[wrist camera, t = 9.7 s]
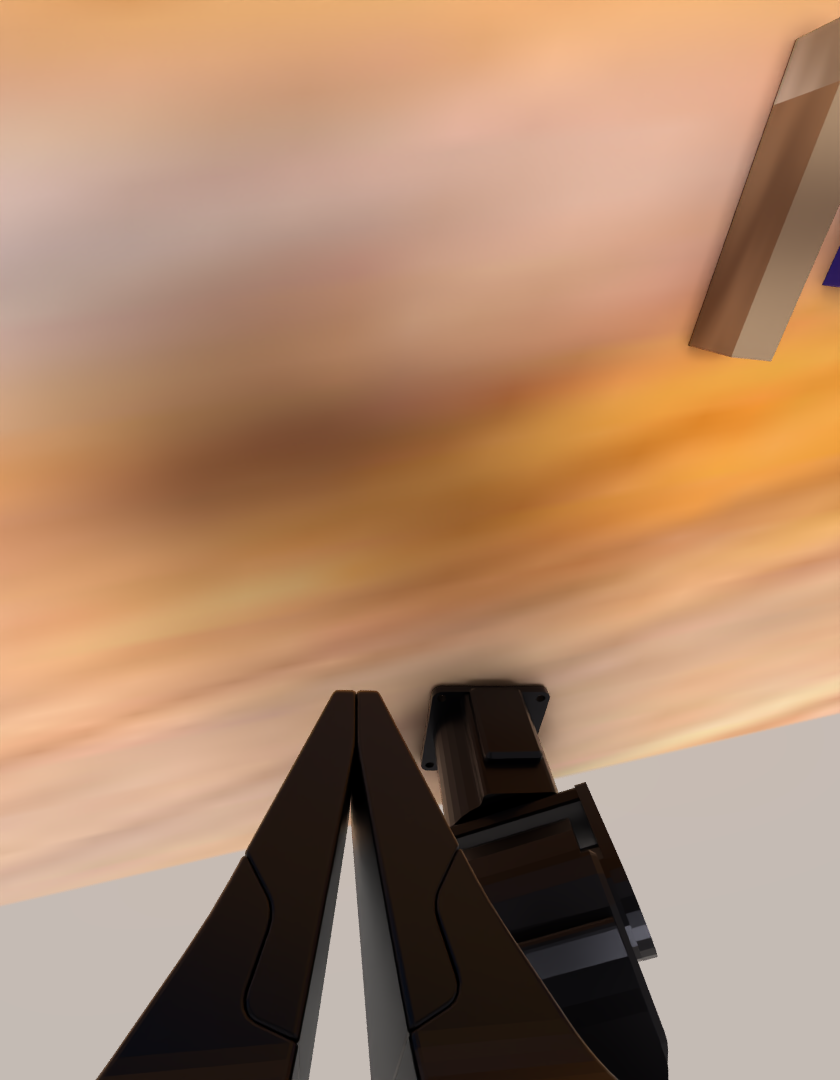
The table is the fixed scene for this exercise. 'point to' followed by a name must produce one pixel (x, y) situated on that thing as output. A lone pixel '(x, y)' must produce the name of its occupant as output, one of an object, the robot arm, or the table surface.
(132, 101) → the table surface
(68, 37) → the table surface
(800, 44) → the slot rails
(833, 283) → the cable clip
